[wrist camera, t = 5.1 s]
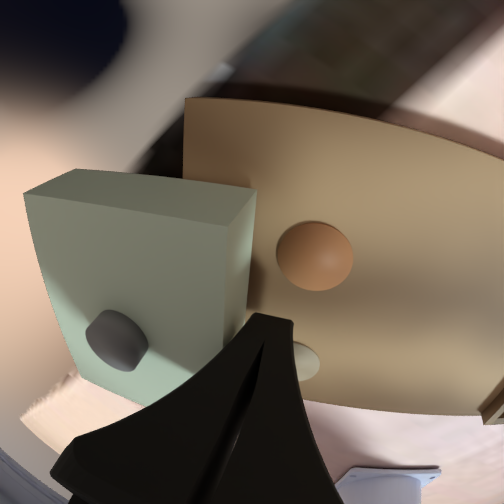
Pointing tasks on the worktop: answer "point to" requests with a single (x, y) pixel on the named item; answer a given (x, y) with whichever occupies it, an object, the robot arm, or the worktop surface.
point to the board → (368, 251)
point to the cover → (143, 273)
